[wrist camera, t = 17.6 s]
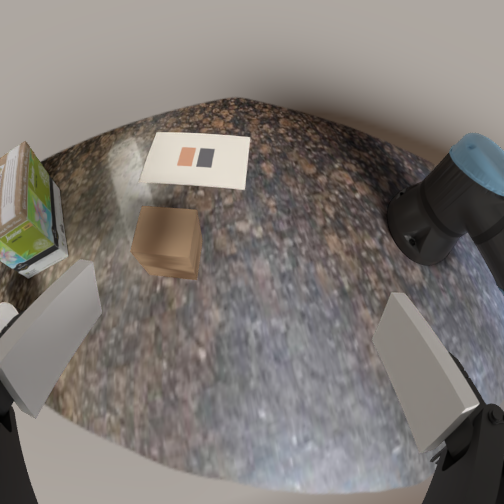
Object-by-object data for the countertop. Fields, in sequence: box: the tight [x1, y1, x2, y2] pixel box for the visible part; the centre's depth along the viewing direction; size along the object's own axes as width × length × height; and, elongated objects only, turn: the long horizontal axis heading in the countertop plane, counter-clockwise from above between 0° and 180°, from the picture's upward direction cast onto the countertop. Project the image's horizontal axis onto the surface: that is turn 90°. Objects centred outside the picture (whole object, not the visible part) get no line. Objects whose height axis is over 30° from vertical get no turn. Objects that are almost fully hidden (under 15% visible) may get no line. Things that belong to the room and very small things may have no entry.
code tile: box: [139, 132, 250, 190], centre depth 46 cm, size 18×12×1 cm, turn 86°
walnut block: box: [130, 206, 202, 280], centre depth 35 cm, size 7×6×9 cm
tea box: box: [0, 141, 68, 278], centre depth 31 cm, size 15×10×15 cm, turn 28°
